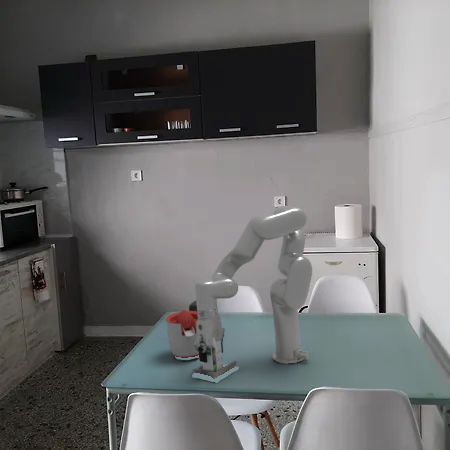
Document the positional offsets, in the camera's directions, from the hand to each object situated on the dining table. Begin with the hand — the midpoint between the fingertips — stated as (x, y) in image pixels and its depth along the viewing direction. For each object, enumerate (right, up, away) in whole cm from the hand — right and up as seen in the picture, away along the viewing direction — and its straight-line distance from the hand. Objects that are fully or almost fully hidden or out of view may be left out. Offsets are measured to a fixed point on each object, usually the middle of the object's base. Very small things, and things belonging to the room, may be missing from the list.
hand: (211, 357), depth 191 cm
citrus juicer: (-10, -5, +20) cm, 23 cm away
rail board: (+1, -7, +2) cm, 7 cm away
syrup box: (+1, -6, +1) cm, 6 cm away
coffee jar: (-5, -3, +37) cm, 37 cm away
